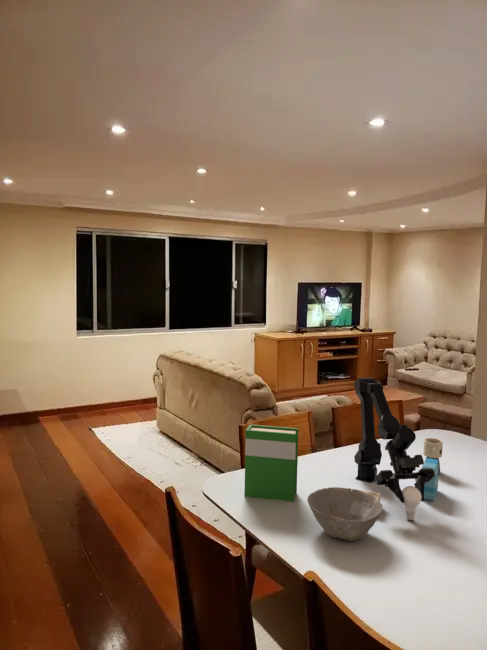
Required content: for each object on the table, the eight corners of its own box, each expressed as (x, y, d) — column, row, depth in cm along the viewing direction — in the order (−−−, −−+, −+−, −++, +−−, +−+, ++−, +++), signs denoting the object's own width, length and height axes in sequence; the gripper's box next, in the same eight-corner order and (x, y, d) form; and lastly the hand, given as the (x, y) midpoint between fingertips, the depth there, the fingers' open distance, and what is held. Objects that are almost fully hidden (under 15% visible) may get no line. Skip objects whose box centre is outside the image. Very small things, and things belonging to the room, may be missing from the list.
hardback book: (296, 493, 185) (298, 428, 183) (294, 501, 178) (295, 434, 176) (248, 488, 189) (250, 424, 187) (244, 496, 182) (245, 430, 180)
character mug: (442, 477, 203) (444, 445, 202) (423, 475, 205) (425, 443, 203) (439, 468, 213) (441, 437, 212) (421, 466, 215) (422, 435, 214)
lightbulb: (396, 515, 169) (398, 483, 168) (415, 515, 170) (417, 482, 169) (404, 524, 163) (406, 491, 162) (423, 524, 163) (425, 490, 162)
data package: (433, 502, 180) (435, 469, 179) (420, 499, 182) (421, 466, 181) (437, 490, 190) (439, 458, 189) (424, 487, 192) (426, 456, 191)
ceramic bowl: (337, 561, 141) (339, 526, 140) (292, 525, 161) (293, 494, 160) (398, 543, 151) (399, 510, 150) (348, 511, 171) (349, 482, 171)
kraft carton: (355, 511, 172) (355, 498, 171) (358, 502, 178) (359, 489, 178) (377, 515, 169) (378, 501, 169) (379, 506, 176) (380, 493, 175)
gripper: (380, 446, 166) (394, 493, 157) (433, 444, 170) (450, 490, 160) (369, 461, 175) (382, 507, 165) (420, 459, 178) (436, 503, 168)
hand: (413, 501), depth 164 cm, fingers closed on lightbulb, 6 cm apart
